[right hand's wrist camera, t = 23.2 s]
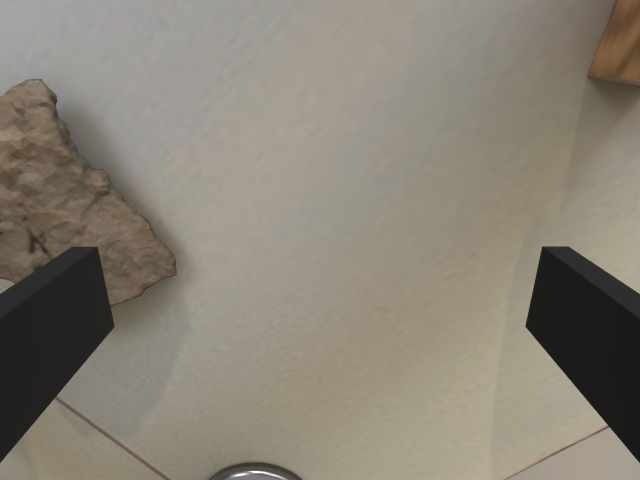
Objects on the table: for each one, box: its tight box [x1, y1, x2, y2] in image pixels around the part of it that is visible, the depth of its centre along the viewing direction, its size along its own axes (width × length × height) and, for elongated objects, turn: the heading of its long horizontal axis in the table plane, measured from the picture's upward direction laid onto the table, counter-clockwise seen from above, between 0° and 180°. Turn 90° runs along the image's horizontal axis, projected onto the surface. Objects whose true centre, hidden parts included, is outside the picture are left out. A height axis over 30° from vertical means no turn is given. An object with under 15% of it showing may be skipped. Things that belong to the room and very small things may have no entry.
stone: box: [0, 79, 177, 307], centre depth 38 cm, size 21×15×6 cm
